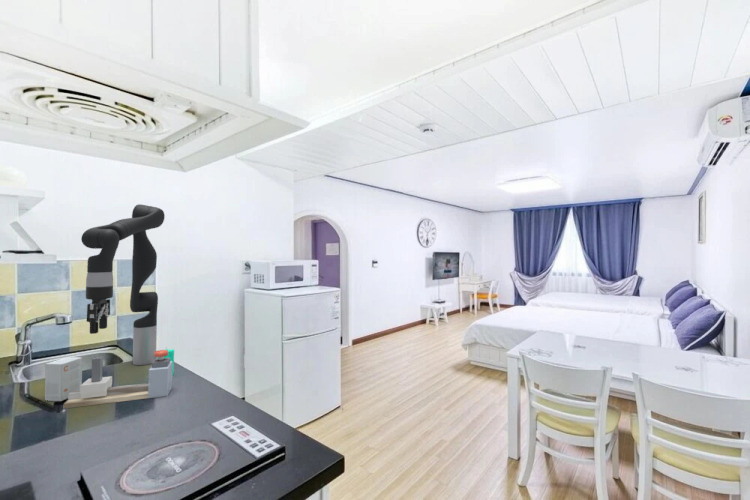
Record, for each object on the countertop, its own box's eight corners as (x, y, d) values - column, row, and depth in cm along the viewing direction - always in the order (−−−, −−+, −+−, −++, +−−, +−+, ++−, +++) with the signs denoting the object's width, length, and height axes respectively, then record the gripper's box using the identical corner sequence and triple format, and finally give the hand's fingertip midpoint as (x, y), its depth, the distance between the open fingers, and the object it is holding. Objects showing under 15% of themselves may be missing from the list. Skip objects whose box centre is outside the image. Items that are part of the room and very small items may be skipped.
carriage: (88, 391, 123) (89, 356, 123) (112, 389, 125) (112, 354, 125) (79, 399, 116) (80, 362, 116) (105, 396, 119) (105, 359, 119)
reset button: (155, 359, 129) (155, 350, 129) (169, 358, 131) (169, 349, 131) (152, 363, 125) (153, 353, 125) (166, 361, 127) (166, 352, 127)
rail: (75, 397, 122) (75, 388, 122) (154, 388, 131) (154, 379, 131) (63, 408, 114) (63, 397, 114) (148, 398, 123) (148, 388, 123)
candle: (176, 374, 146) (177, 346, 146) (161, 379, 141) (162, 349, 141) (169, 372, 149) (169, 344, 150) (154, 376, 144) (154, 347, 145)
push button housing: (154, 388, 131) (154, 357, 131) (171, 386, 133) (172, 355, 133) (148, 398, 123) (148, 364, 123) (167, 395, 125) (168, 362, 125)
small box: (66, 391, 127) (67, 356, 128) (82, 392, 127) (83, 357, 127) (43, 400, 119) (44, 363, 119) (61, 401, 119) (61, 364, 119)
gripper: (105, 286, 116) (104, 334, 116) (119, 283, 129) (117, 326, 129) (77, 287, 113) (76, 336, 113) (94, 283, 126) (93, 327, 126)
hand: (98, 330), depth 121 cm, fingers open, 8 cm apart
